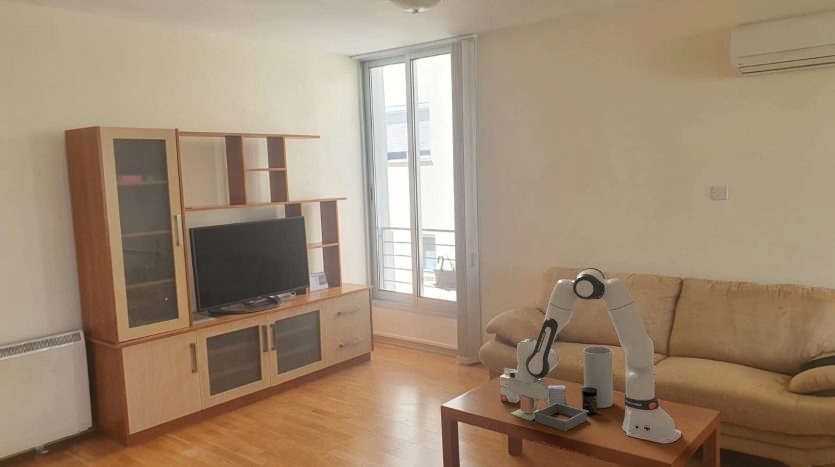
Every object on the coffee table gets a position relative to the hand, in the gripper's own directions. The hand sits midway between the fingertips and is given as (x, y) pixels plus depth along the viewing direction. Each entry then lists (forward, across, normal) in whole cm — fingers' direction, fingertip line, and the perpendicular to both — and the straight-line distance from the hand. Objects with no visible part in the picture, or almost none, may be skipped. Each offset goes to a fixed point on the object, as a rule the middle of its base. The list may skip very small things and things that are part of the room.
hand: (528, 405), depth 274 cm
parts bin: (+4, -15, -3) cm, 16 cm away
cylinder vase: (+4, -16, -31) cm, 35 cm away
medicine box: (+4, -3, -17) cm, 18 cm away
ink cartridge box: (+4, +17, -8) cm, 19 cm away
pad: (+4, 0, 0) cm, 4 cm away
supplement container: (+4, -19, -19) cm, 27 cm away
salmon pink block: (+2, 0, 0) cm, 2 cm away
